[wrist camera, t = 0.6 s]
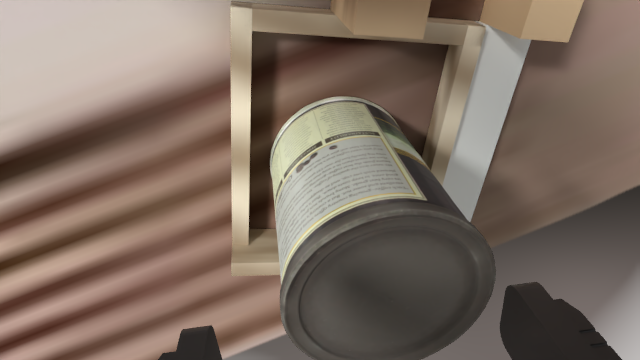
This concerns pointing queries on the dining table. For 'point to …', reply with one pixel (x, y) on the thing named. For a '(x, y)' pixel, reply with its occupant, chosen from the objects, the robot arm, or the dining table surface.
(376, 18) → the frame
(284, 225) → the coffee can
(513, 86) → the empty strip
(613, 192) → the dining table surface
